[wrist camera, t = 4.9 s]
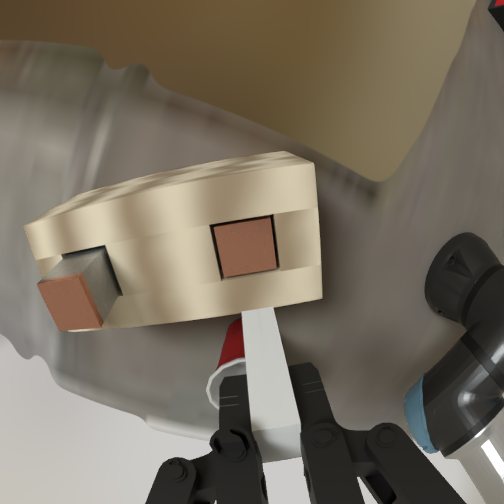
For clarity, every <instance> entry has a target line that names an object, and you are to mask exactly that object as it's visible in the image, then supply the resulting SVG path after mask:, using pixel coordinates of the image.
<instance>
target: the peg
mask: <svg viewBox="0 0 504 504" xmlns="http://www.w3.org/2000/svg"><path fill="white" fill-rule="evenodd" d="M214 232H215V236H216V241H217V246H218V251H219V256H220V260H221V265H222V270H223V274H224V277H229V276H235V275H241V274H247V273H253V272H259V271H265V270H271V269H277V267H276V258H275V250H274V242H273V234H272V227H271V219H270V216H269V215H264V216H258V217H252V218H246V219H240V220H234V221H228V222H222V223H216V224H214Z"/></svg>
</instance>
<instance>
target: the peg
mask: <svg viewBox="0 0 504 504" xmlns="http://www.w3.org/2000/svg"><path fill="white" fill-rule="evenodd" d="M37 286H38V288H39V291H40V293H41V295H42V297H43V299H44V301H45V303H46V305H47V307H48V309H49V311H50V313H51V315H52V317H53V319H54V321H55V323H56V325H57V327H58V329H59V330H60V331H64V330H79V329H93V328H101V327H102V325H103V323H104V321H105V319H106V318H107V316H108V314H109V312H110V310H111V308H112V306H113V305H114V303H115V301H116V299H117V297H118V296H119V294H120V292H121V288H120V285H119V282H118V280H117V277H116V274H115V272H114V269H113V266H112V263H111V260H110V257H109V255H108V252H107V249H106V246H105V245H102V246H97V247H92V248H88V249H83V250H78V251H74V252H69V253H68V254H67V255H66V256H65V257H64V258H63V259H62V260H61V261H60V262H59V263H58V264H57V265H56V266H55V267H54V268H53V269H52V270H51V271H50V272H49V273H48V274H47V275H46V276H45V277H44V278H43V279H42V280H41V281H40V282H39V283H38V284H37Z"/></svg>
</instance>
